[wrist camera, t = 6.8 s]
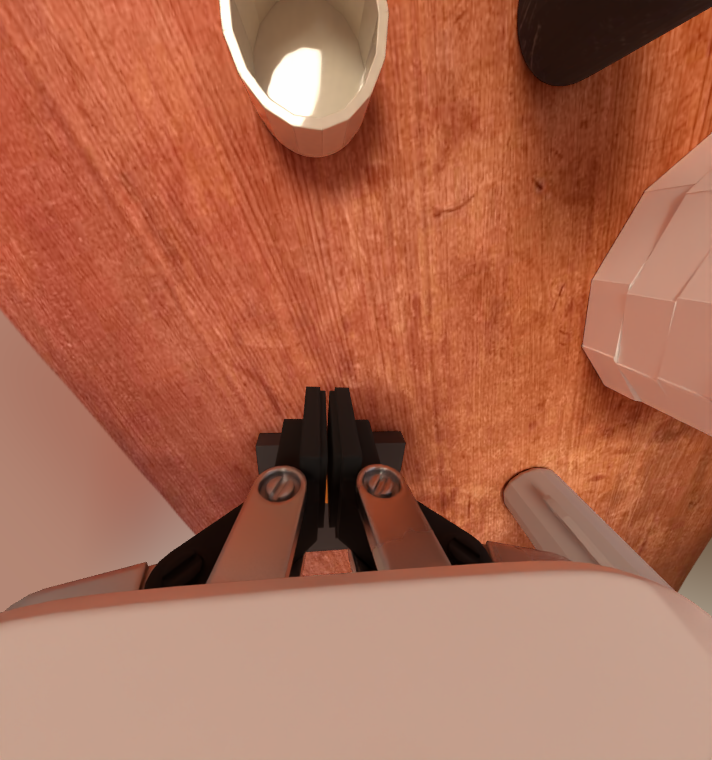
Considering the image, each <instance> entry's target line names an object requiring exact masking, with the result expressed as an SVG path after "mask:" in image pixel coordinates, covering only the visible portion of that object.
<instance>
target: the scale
mask: <svg viewBox="0 0 712 760" xmlns="http://www.w3.org/2000/svg"><path fill="white" fill-rule="evenodd" d="M372 434H373V437H374V441H375V445H376V448H377V452H378V456H379V459H380V463H381V464H382V465H386V466H389V467H391V468H394V469H395V470H396V471H398V472H399V473H400V471H401V465H402V460H403V455H404V449H405V444H406V443H405V440H404V438H403V435H402V433H401V431H386V432H372ZM280 437H281V433H260V434H259V437H258V440H257V443H256V454H257V463H258V471H259V475H260V474H261V473H262V472H264V471H266V470H268V469H270V468H272V467H275V462H276V457H277V452H278V447H279V442H280ZM341 549H348V547H347V546H346V545H344V544H343V543H342V542H341V541H340V540H339V539H338V538H335V528H329V522H328V503H325V514H324V528H318V534H317V541H316V542H315V543H314V544H313V545H312V546H311V547H310V548H309V549H308V550H307V551H306V552H313V551H327V550H341Z"/></svg>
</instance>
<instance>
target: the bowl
mask: <svg viewBox="0 0 712 760" xmlns="http://www.w3.org/2000/svg"><path fill="white" fill-rule="evenodd" d="M219 6H220V16H221V26H222V31H223V35H224V38H225V40H226V43H227V45H228V48H229V51H230V53H231V56H232V58H233V61H234V64H235V66H236V69H237V71H238V74H239V76H240V78H241V80H242V82H243V84H244V86H245V88H246V90H247V92H248V94H249V96H250V98H251V100H252V102H253V105H254V107H255V109H256V111H257V113H258V115H259V116H260V118H261V119H262V120H263V122H264V124H265V125H266V127H267V128H268V129H269V131H270V132H271V133H272V134H273V136H274V137H275V138H276V139H277V140H278V141H279V142H280V143H281V144H283V145H284V146H285V147H287V148H288V149H290V150H291V151H293V152H295V153H297V154H300V155H303V156H307V157H325V156H328V155H332V154H334V153H336V152H338V151H339V150H341V149H342V148H344V147H345V146H346V145H347V144H348V143H349V142H350V141H351V140H352V139H353V137H354V136H355V135H356V133H357V131H358V130H359V128H360V127H361V124H362V122H363V119H364V116H365V114H366V111H367V109H368V106H369V103H370V101H371V98H372V95H373V92H374V89H375V86H376V83H377V80H378V78H379V75H380V72H381V69H382V66H383V63H384V60H385V55H386V43H387V30H388V18H389V13H388V12H389V10H388V5H387V0H219Z"/></svg>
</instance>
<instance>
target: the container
mask: <svg viewBox="0 0 712 760" xmlns="http://www.w3.org/2000/svg"><path fill="white" fill-rule="evenodd" d="M581 346H582V348H583V349H584V351H585V353H586V355H587V356H588V358H589V360H590V361H591V363H592V365H593V367H594V368H595V370H596V372H597V374H598V375H599V377H600V379H601V380H602V382H603V384H604V386H606V387H608V388H610V389H612V390H614V391H616V392H618V393H620V394H622V395H624V396H626V397H628V398H630V399H632V400H634V401H640V402H643V403H645V404H647V405H649V406H651V407H653V408H655V409H657V410H659V411H661V412H663V413H665V414H667V415H669V416H671V417H673V418H675V419H677V420H679V421H681V422H684V423H686V424H688V425H690V426H692V427H694V428H696V429H698V430H700V431H702V432H704V433H706V434H708V435H710V436H712V133H711V134H710V135H709V136H708V137H707V138H705V139H704V140H703V141H702V142H701V143H700V144H698V145H697V146H696V147H695V148H694V149H693V150H692V151H690V152H689V153H688V154H687V155H686V156H685V157H683V158H682V159H681V160H680V161H679V162H678V163H677V164H675V165H674V166H673V167H672V168H671V169H670V170H668V171H667V172H666V173H665V174H664V175H663V176H661V177H660V178H659V179H658V180H657V181H656V182H655V183H653V184H652V185H651V186H650V187H649V188H648V189H646V190H645V191H644V194H643V196H642V197H641V199H640V201H639V202H638V204H637V206H636V208H635V209H634V211H633V213H632V214H631V216H630V218H629V219H628V221H627V223H626V224H625V226H624V228H623V229H622V231H621V233H620V234H619V236H618V238H617V239H616V241H615V243H614V244H613V246H612V248H611V249H610V251H609V253H608V254H607V256H606V258H605V259H604V261H603V263H602V264H601V266H600V268H599V269H598V271H597V273H596V274H595V276H594V278H593V279H592V283H591V290H590V297H589V304H588V311H587V318H586V325H585V331H584V338H583V345H581Z"/></svg>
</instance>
